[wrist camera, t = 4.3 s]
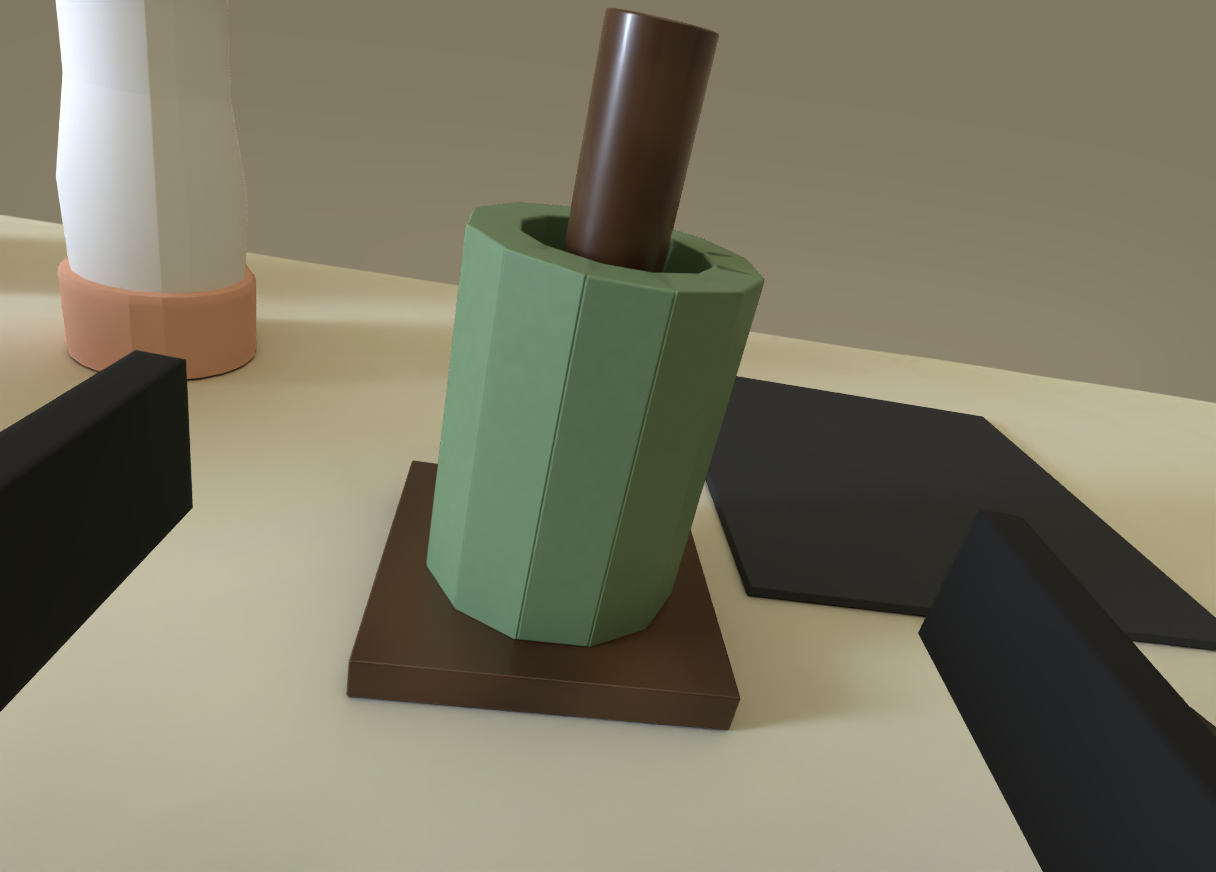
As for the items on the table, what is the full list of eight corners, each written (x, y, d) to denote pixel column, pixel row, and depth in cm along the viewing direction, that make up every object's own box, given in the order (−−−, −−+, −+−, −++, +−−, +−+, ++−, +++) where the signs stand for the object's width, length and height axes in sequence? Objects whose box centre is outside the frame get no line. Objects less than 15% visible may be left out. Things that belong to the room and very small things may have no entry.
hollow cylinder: (652, 510, 28) (726, 235, 23) (685, 658, 21) (797, 312, 17) (444, 483, 26) (481, 187, 22) (411, 630, 20) (453, 251, 15)
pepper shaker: (287, 341, 37) (294, -136, 29) (190, 396, 30) (162, -200, 22) (146, 305, 37) (112, -175, 29) (21, 353, 31) (-70, -250, 22)
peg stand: (673, 522, 29) (805, 63, 22) (729, 730, 21) (976, 79, 13) (409, 488, 28) (459, -18, 21) (346, 697, 19) (396, -60, 12)
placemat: (980, 422, 47) (983, 416, 47) (1243, 653, 29) (1249, 645, 29) (666, 371, 44) (667, 364, 44) (747, 595, 26) (750, 586, 26)
